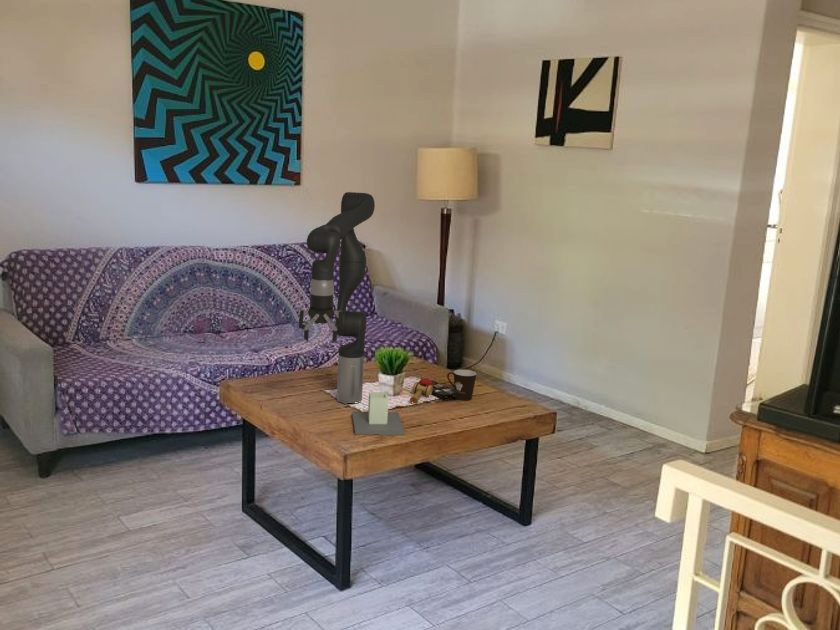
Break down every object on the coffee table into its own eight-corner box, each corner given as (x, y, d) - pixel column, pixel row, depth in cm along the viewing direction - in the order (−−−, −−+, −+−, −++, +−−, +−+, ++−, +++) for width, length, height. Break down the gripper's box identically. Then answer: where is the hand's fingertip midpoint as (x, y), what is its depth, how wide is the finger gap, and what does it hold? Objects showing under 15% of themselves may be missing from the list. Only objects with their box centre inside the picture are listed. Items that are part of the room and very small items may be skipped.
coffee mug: (478, 400, 302) (480, 375, 300) (458, 402, 298) (460, 376, 296) (463, 391, 312) (465, 366, 310) (444, 393, 308) (445, 368, 306)
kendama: (425, 409, 292) (438, 389, 309) (422, 393, 291) (436, 374, 307) (405, 409, 295) (419, 390, 311) (402, 394, 293) (417, 375, 309)
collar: (367, 417, 271) (369, 392, 269) (385, 418, 272) (386, 392, 270) (369, 423, 265) (370, 398, 263) (387, 424, 266) (388, 398, 264)
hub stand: (352, 415, 276) (353, 390, 274) (397, 416, 279) (399, 391, 277) (355, 434, 259) (356, 407, 257) (404, 434, 261) (405, 408, 259)
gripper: (343, 291, 263) (341, 339, 266) (299, 289, 261) (298, 337, 264) (344, 295, 256) (342, 344, 259) (299, 294, 254) (298, 343, 257)
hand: (320, 341), depth 262 cm, fingers open, 8 cm apart
